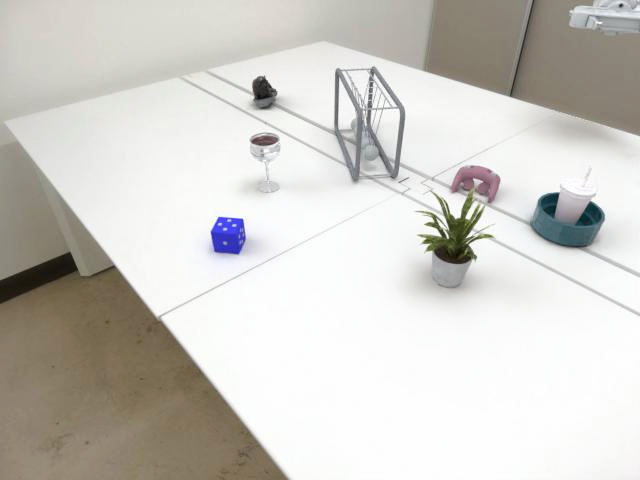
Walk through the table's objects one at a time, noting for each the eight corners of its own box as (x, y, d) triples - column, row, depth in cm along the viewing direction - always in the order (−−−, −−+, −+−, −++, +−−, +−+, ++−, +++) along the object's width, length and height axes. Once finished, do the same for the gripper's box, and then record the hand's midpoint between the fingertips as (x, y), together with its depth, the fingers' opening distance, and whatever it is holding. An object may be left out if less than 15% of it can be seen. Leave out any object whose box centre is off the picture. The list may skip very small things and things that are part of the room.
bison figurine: (257, 96, 149) (254, 64, 143) (279, 96, 149) (277, 65, 142) (252, 111, 140) (248, 78, 133) (275, 111, 139) (272, 78, 133)
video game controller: (494, 202, 103) (505, 172, 102) (492, 203, 99) (503, 172, 98) (452, 190, 107) (461, 161, 105) (448, 191, 103) (457, 160, 101)
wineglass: (262, 197, 102) (257, 149, 95) (249, 184, 107) (243, 137, 99) (288, 188, 105) (286, 141, 98) (274, 175, 110) (270, 129, 102)
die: (214, 252, 88) (210, 231, 85) (221, 236, 92) (218, 216, 88) (239, 254, 87) (236, 234, 84) (246, 238, 91) (243, 218, 88)
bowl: (583, 213, 97) (592, 194, 94) (604, 250, 88) (614, 229, 85) (524, 210, 98) (531, 190, 95) (538, 245, 89) (546, 225, 86)
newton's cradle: (398, 181, 108) (406, 109, 97) (354, 184, 107) (358, 111, 95) (369, 126, 131) (374, 63, 120) (333, 129, 130) (334, 65, 119)
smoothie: (569, 240, 89) (596, 178, 81) (539, 225, 93) (562, 164, 84) (585, 227, 92) (613, 166, 84) (555, 213, 96) (579, 154, 88)
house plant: (415, 240, 90) (427, 168, 80) (487, 257, 86) (510, 183, 76) (398, 288, 80) (409, 212, 70) (479, 309, 76) (504, 232, 66)
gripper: (573, -4, 111) (574, 8, 101) (669, 3, 105) (681, 17, 95) (564, 24, 115) (565, 38, 105) (656, 32, 109) (666, 48, 99)
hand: (621, 28), depth 100 cm, fingers open, 8 cm apart
